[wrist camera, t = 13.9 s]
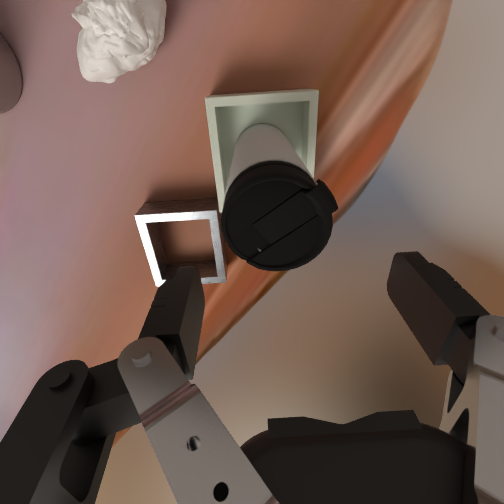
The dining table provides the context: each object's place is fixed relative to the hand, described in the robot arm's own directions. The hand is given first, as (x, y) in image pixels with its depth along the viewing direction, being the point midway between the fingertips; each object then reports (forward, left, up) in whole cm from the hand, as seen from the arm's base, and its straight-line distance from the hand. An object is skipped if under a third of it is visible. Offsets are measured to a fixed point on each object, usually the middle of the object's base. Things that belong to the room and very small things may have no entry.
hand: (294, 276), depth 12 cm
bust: (-12, -12, -25) cm, 30 cm away
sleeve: (+11, -11, -25) cm, 29 cm away
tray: (0, 0, -25) cm, 25 cm away
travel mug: (0, 0, -24) cm, 24 cm away
